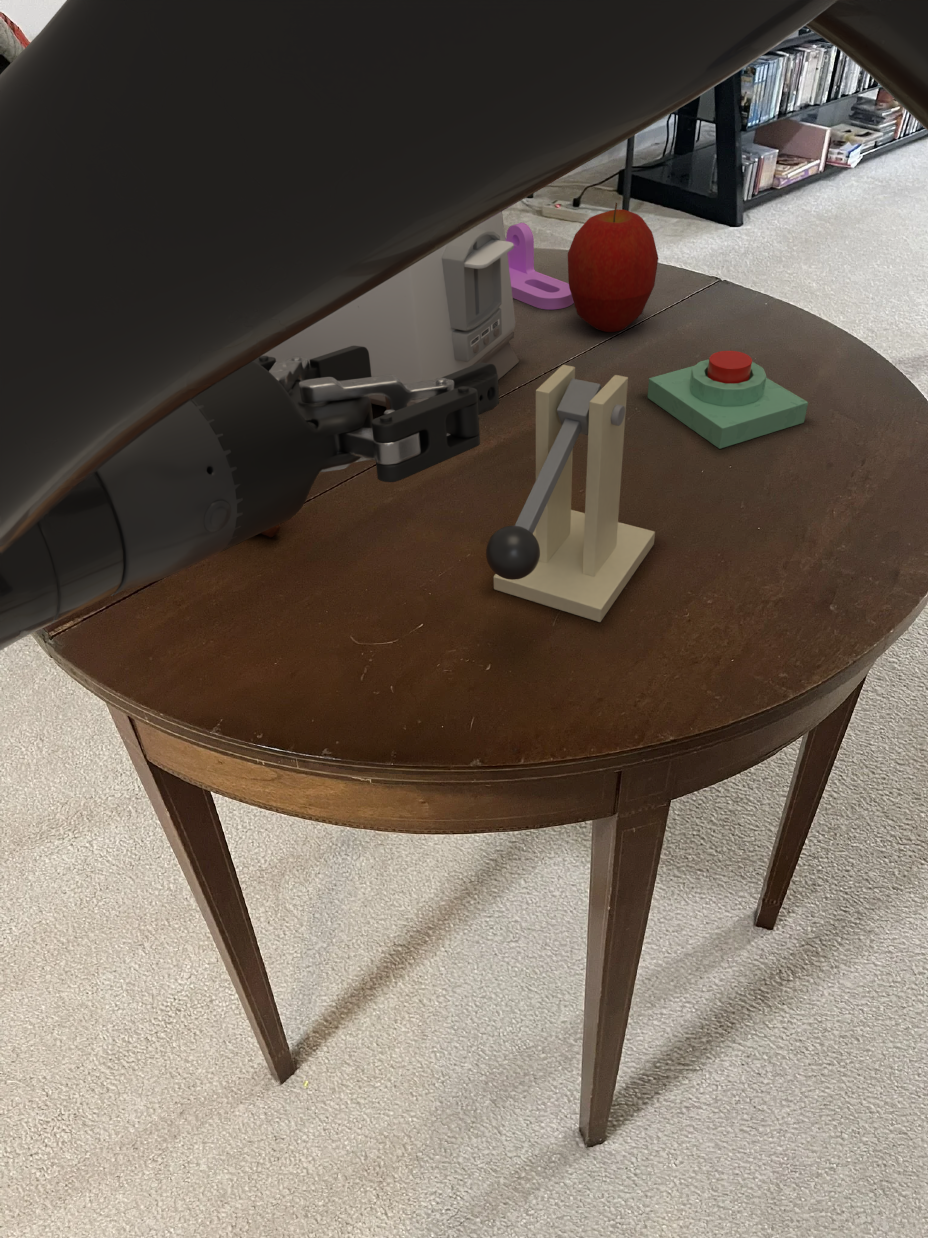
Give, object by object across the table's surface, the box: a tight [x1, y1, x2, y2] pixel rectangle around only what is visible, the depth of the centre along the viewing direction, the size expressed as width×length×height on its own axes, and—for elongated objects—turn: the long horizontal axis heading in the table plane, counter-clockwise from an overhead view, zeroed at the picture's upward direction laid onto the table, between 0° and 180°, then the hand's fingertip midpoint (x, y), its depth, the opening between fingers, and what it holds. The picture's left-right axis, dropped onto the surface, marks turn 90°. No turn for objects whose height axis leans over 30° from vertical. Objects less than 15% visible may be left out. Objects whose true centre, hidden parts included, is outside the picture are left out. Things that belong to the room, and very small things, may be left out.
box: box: [646, 358, 809, 450], centre depth 91 cm, size 12×10×4 cm
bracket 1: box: [505, 222, 574, 311], centre depth 116 cm, size 13×6×7 cm, turn 39°
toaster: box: [262, 211, 520, 408], centre depth 96 cm, size 19×34×21 cm, turn 60°
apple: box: [567, 202, 659, 333], centre depth 105 cm, size 10×10×14 cm
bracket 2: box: [492, 364, 656, 623], centre depth 69 cm, size 11×9×16 cm
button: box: [707, 350, 753, 384], centre depth 90 cm, size 4×4×2 cm
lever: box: [485, 378, 603, 580], centre depth 63 cm, size 15×4×4 cm, turn 151°
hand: (425, 373), depth 48 cm, fingers open, 8 cm apart
